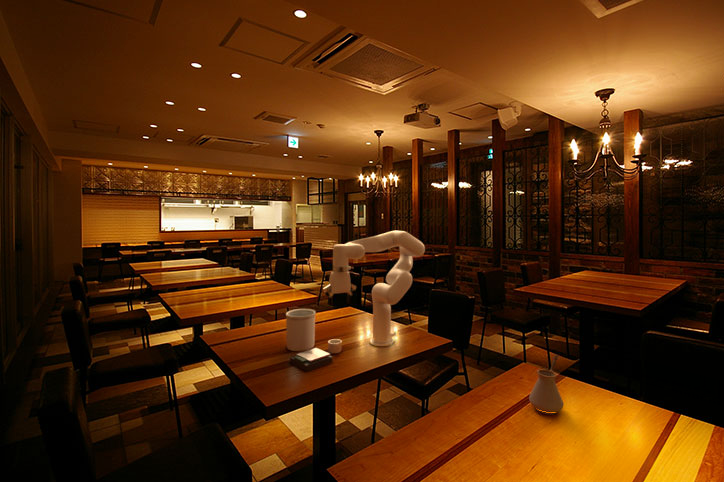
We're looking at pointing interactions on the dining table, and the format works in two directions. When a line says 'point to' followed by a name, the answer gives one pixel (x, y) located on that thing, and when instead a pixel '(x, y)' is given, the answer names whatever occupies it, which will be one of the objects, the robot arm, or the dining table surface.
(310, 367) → the scale
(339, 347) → the bowl
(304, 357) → the scale pan
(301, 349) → the utensil holder
